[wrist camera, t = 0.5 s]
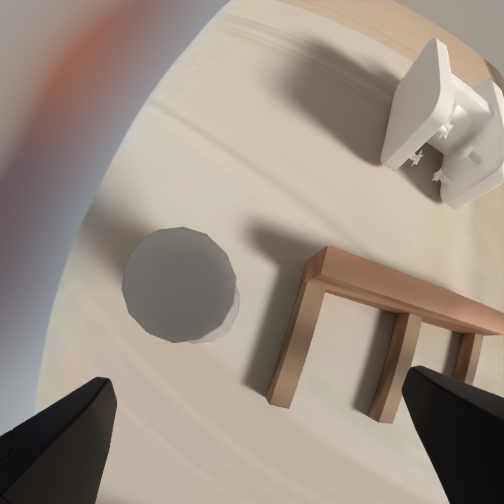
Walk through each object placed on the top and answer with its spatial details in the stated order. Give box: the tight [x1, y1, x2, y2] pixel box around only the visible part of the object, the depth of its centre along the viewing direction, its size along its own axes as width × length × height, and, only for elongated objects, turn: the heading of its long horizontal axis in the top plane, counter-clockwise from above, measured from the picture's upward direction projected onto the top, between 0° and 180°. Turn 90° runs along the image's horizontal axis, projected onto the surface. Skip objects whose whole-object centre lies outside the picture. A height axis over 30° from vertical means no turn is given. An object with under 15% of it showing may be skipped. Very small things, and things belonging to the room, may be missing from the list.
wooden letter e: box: [266, 246, 504, 424], centre depth 20 cm, size 12×20×5 cm, turn 73°
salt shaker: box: [122, 227, 240, 344], centre depth 16 cm, size 6×6×13 cm
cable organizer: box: [381, 38, 504, 209], centre depth 23 cm, size 15×11×12 cm
